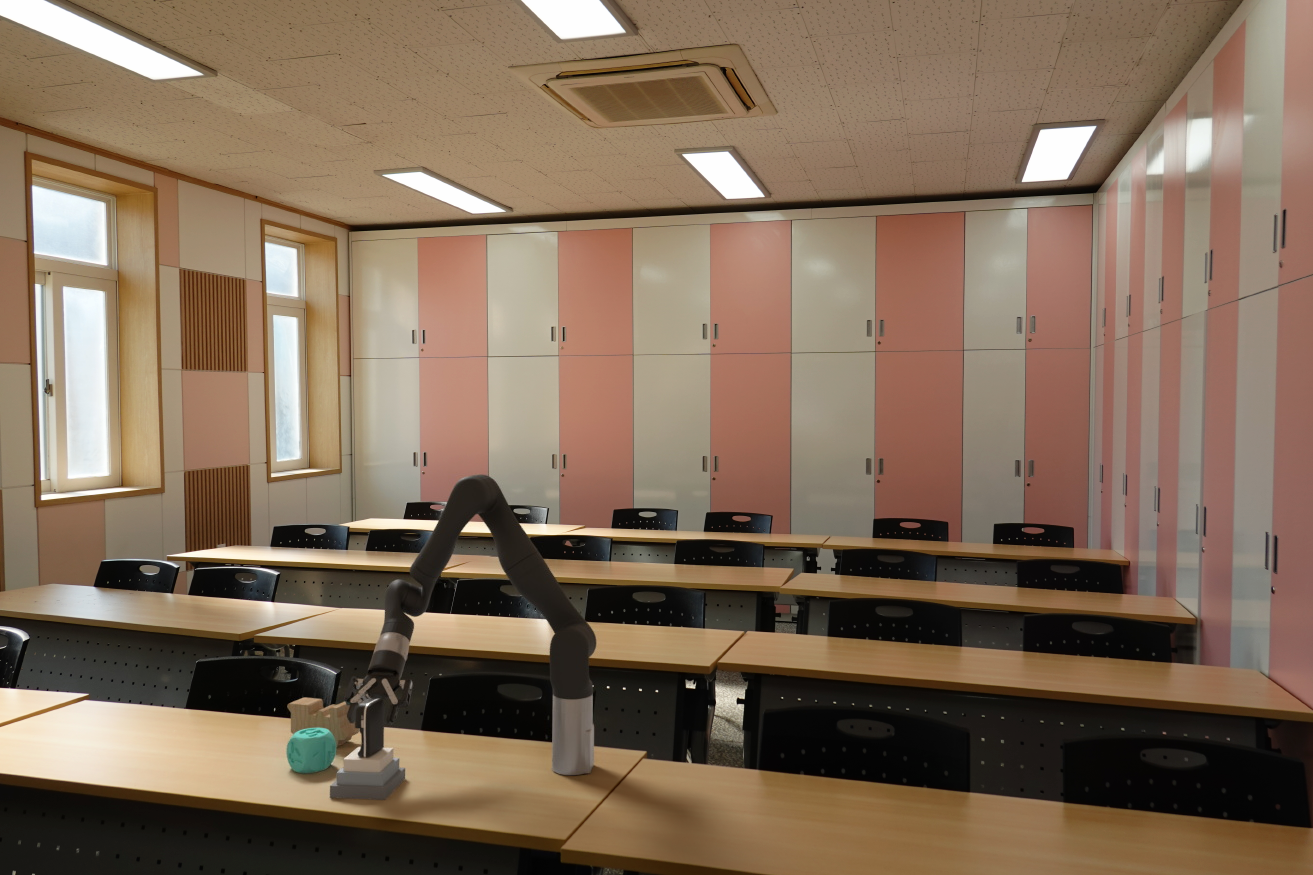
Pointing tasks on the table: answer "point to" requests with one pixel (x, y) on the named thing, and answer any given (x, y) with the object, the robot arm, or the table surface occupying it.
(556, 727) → the robot arm
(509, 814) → the table surface
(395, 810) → the table surface
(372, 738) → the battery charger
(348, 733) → the toy train
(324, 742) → the decorative dice
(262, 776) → the table surface
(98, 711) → the table surface
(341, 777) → the block tower
